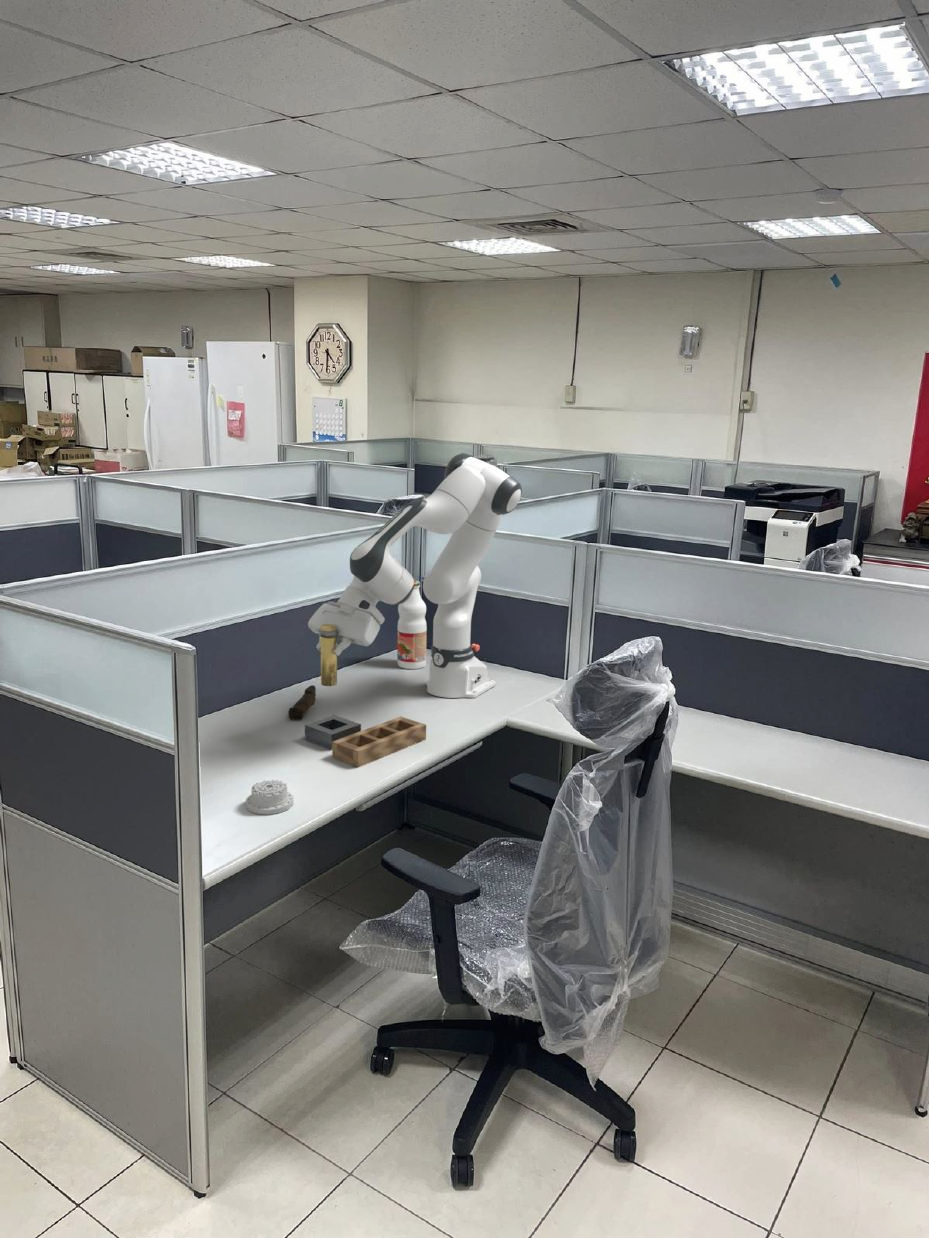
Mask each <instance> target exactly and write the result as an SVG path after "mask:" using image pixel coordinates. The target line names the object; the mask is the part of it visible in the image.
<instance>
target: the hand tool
mask: <svg viewBox="0 0 929 1238" xmlns="http://www.w3.org/2000/svg"><path fill="white" fill-rule="evenodd" d="M316 689H317V688H316V686H315V685H310V686H309V685H308V687H307V688H305V689H304V694H303V695H302V696H301V697H300V698H299V700H297V702H296V703H295V704H294V705H293V706H292V707H289V709H288V711H287V712H288V713H287V714H288V715H287V716H288V718H289V720H291V721H301V720H302V718H303V717H304V715H305V713H306V712H307V711H308V710H309V708H310V707H311V706H312V705H315V702H316V696H317V693H316V692H317V690H316Z"/></svg>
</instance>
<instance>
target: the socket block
mask: <svg viewBox="0 0 929 1238" xmlns="http://www.w3.org/2000/svg"><path fill="white" fill-rule="evenodd" d="M360 731H362V724H361V723H358V722H356V721H353V720H349V719H347V718H344V717H343V716H338V715H336V714H333V715H329V716H328V717H327V716H326V717H324V718H321V719H318V720H315V721H312V722H310V723H309V722H308V723H307V724H304V740H305V741H306V742H307V741H308V742H310V743H311V744H315V745H318V746H320V747H323V748H326V749H329V750H331V749H332V742H333V741H336V740H338V739H341V738H344V737H346V736H349V735H352V734H355V733H357V732H360Z"/></svg>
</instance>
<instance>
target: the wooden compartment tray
mask: <svg viewBox="0 0 929 1238" xmlns="http://www.w3.org/2000/svg"><path fill="white" fill-rule="evenodd" d="M425 739H426V740H427V724H425V723H422V722H419V721H416V720H412V719H410V718H407V717H403V716H397V717H395V718H392V719H389V720H387V721H385V722H381V723H379V724H376V725H374V726H371V727H368V728H366V729H363V730H361V731H360V732H357V733H355V734H352V735H349V736H346V737H344V738H341V739H338V740H336V741H333V742H332V750H331V751H332V753H331V755H332V756H331V757H332V758H333V759H336V760H338V761H341V762H344V763H346V764H349V765H351V766H354V767H357V768H360V767H362V766H365V765H368V764H370V763H373V762H374V760H375V761H378V760H380V759H382V758H384V756H385V757H387V756H389V755H392V754H394V753H396V752H399V751H401V749H402V750H404V749H407V748H409V747H411V746H413V744H414V745H416V744H419V743H420V741H421V742H423V741H425ZM422 740H423V741H422ZM418 742H419V743H418ZM415 743H416V744H415ZM408 746H409V747H408ZM398 750H399V751H398ZM391 753H392V754H391ZM379 758H380V759H379ZM372 761H373V762H372ZM367 763H368V764H367Z"/></svg>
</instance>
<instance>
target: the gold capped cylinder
mask: <svg viewBox="0 0 929 1238" xmlns="http://www.w3.org/2000/svg"><path fill="white" fill-rule="evenodd" d="M318 635H319V636H321V651H320V684H321V686H324V687H333V686H336V685H337V684H338V655H335V654H333V653H332V649H333V647H334V646H337V645H338V639H337V636H338V628H337V625H334V624H324V625H321V628H320V629H319V634H318Z"/></svg>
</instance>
